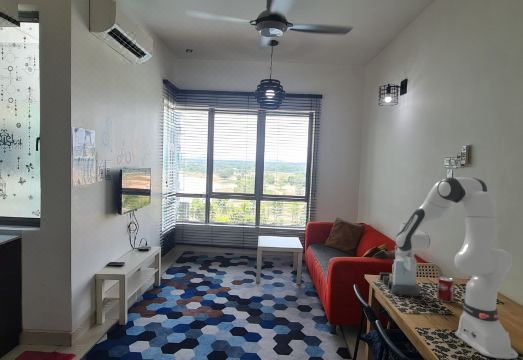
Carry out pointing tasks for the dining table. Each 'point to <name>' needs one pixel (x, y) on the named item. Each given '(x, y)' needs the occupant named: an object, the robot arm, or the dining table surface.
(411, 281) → the acrylic sheet
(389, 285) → the rack
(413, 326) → the dining table surface
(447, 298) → the soda can
